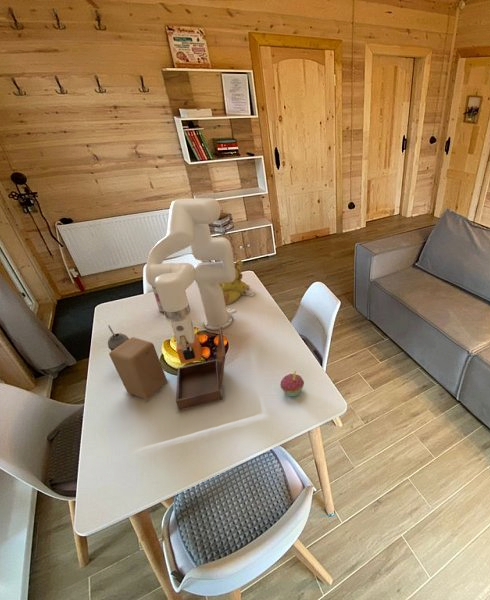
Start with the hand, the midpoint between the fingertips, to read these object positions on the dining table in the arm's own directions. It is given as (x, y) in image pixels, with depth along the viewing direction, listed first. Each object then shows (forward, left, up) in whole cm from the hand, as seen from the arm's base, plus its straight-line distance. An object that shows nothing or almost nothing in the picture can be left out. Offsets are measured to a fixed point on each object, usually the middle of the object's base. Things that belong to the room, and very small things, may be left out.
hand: (190, 351), depth 117 cm
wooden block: (+13, -15, -18) cm, 27 cm away
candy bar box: (-18, -63, -18) cm, 68 cm away
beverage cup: (+13, -33, -18) cm, 40 cm away
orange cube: (0, 0, -2) cm, 2 cm away
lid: (-8, +4, -5) cm, 10 cm away
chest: (0, 0, -18) cm, 18 cm away
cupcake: (-22, +27, -18) cm, 39 cm away
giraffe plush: (-45, -51, -18) cm, 70 cm away
